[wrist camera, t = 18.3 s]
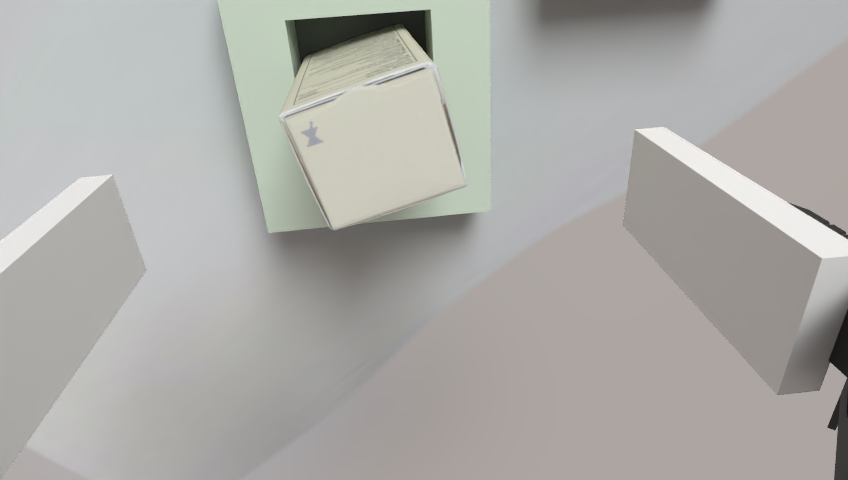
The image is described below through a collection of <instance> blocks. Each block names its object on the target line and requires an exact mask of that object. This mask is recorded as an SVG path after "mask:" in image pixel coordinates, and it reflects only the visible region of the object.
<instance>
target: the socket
mask: <svg viewBox="0 0 848 480" xmlns="http://www.w3.org/2000/svg"><path fill="white" fill-rule="evenodd" d="M217 2H218V7H219V11H220V16H221V20H222V25H223V29H224V34H225V39H226V43H227V48H228V52H229V57H230V61H231V66H232V70H233V75H234V79H235V84H236V89H237V93H238V98H239V102H240V107H241V111H242V116H243V120H244V125H245V130H246V134H247V139H248V143H249V148H250V152H251V157H252V161H253V166H254V170H255V175H256V180H257V184H258V189H259V193H260V198H261V202H262V207H263V211H264V216H265V220H266V225H267V230H268V233H274V232H284V231H294V230H304V229H314V228H324V227H328V225H327V223H326V220H325V218H324V216H323V214H322V212H321V211H320V209H319V207H318V205H317V203H316V200H315V198H314V196H313V194H312V192H311V190H310V188H309V186H308V184H307V181H306V179H305V177H304V175H303V173H302V171H301V168H300V166H299V164H298V162H297V160H296V157H295V155H294V153H293V150H292V148H291V146H290V143H289V141H288V139H287V136H286V134H285V132H284V130H283V127H282V125H281V123H280V121H279V114H280V112H281V109H282V107H283V105H284V103H285V101H286V98H287V96H288V94H289V91H290V89H291V87H292V85H293V82H294V80H295V77H296V76H297V73H298V71H299V69H300V66H301V60H300V54H299V48H298V42H297V36H296V30H295V23H294V20H298V19H311V18H324V17H337V16H350V15H363V14H376V13H389V12H403V11H416V10H424V21H425V38H426V54H427V55H428V57H429V58H430V59H431V60H432V61H433V62H434V63H435V64H436V65H437V67H438V70H439V73H440V77H441V81H442V84H443V88H444V91H445V95H446V98H447V102H448V105H449V109H450V113H451V116H452V120H453V123H454V127H455V131H456V135H457V139H458V143H459V147H460V151H461V156H462V160H463V164H464V168H465V172H466V176H467V181H468V182H467V186H466V187H464V188H461V189H458V190H455V191H452V192H450V193H447V194H444V195H442V196H439V197H436V198H433V199H430V200H427V201H424V202H422V203H419V204H416V205H413V206H410V207H407V208H404V209H401V210H399V211H396V212H393V213H390V214H386V215H383V216H380V217H377V218H374V219H371V220H368V221H365V222H361V223H358V224H364V223H374V222H384V221H394V220H404V219H414V218H425V217H435V216H445V215H455V214H465V213H475V212H485V211H491V71H490V0H217Z"/></svg>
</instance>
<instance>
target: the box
mask: <svg viewBox="0 0 848 480" xmlns="http://www.w3.org/2000/svg"><path fill="white" fill-rule="evenodd" d="M279 121H280V123H281V125H282V127H283V130H284V132H285V134H286V136H287V139H288V141H289V143H290V146H291V148H292V150H293V153H294V155H295V157H296V160H297V162H298V164H299V166H300V168H301V171H302V173H303V175H304V177H305V179H306V181H307V184H308V186H309V188H310V190H311V192H312V194H313V196H314V198H315V200H316V203H317V205H318V207H319V209H320V211H321V212H322V214H323V216H324V218H325V220H326V223H327V225H328V227H329V228H330V229H331V230H338V229H342V228H345V227H348V226H352V225H355V224H358V223H361V222H365V221H368V220H371V219H374V218H377V217H380V216H383V215H386V214H390V213H393V212H396V211H399V210H401V209H404V208H407V207H410V206H413V205H416V204H419V203H422V202H424V201H427V200H430V199H433V198H436V197H439V196H442V195H444V194H447V193H450V192H452V191H455V190H458V189H461V188H464V187H466V186H467V182H468V181H467V176H466V172H465V168H464V164H463V160H462V156H461V151H460V147H459V143H458V139H457V135H456V131H455V127H454V123H453V120H452V116H451V113H450V109H449V105H448V102H447V98H446V95H445V91H444V88H443V84H442V81H441V77H440V73H439V70H438V67H437V65H436V64H435V63H434V62H433V61H432V60H431V59H430V58H429V57H428V55H427V54H426V53H425V52H424V51H423V49H422V48H421V47H420V46H419V45H418V43H417V42H416V41H415V40H414V39H413V38H412V36H411V35H410V34H409V32H408V31H407V30H406V28H405V27H404V26H403V25H402V24H395V25H392V26H389V27H385V28H382V29H379V30H376V31H373V32H370V33H367V34H364V35H361V36H358V37H355V38H353V39H350V40H347V41H344V42H342V43H339V44H336V45H333V46H331V47H328V48H325V49H323V50H320V51H318V52H315V53H312V54H310V55H307V56H305V58H304V60H303V62H302V64H301V66H300V69H299V71H298V73H297V76H296V77H295V80H294V82H293V85H292V87H291V89H290V91H289V94H288V96H287V98H286V101H285V103H284V105H283V107H282V109H281V112H280V114H279Z"/></svg>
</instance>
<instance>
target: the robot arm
mask: <svg viewBox="0 0 848 480" xmlns="http://www.w3.org/2000/svg"><path fill="white" fill-rule="evenodd" d="M623 226H624V227H625V228H626V229H627V230H628V231H629V233H630V234H631V235H632V236H633V237H634V238H635V239H636V240H637V241H638V242H639V244H640V245H641V246H642V247H643V248H644V249H645V250H646V251H647V252H648V253H649V255H650V256H651V257H652V258H653V259H654V260H655V261H656V262H657V263H658V264H659V266H660V267H661V268H662V269H663V270H664V271H665V272H666V273H667V274H668V275H669V277H670V278H671V279H672V280H673V281H674V282H675V283H676V284H677V285H678V286H679V288H680V289H681V290H682V291H683V292H684V293H685V294H686V295H687V296H688V297H689V299H690V300H691V301H692V302H693V303H694V304H695V305H696V306H697V307H698V308H699V310H700V311H701V312H702V313H703V314H704V315H705V316H706V317H707V318H708V319H709V321H710V322H711V323H712V324H713V325H714V326H715V327H716V328H717V329H718V330H719V331H720V333H721V334H722V335H723V336H724V337H725V338H726V339H727V340H728V341H729V343H730V344H731V345H732V346H733V347H734V348H735V349H736V350H737V351H738V352H739V353H740V355H741V356H742V357H743V358H744V359H745V360H746V361H747V362H748V364H750V366H751V367H752V368H753V369H754V370H755V371H756V372H757V373H758V374H759V375H760V377H761V378H762V379H763V380H764V381H765V382H766V383H767V384H768V385H769V387H770V388H771V389H772V390H773V391H774V392H775V393H776V394H777V395H783V394H792V393H801V392H810V391H819V390H820V388H821V385H822V383H823V380H824V377H825V374H826V372H827V369H828V366H829V364H830V362H831V363H832V364H833V365H834V366H835V367H836V368H838V369H839V370H840V371H841V372H842V373H843V374H844V375H845V376H846V377H847V380H846V383H845V385H844V388H843V390H842V393H841V395H840V397H839V400H838V402H837V405H836V407H835V410H834V412H833V415H832V417H831V420H830V422H829V425H828V428H830V429H833V430H836V428H837V426H838V435H837V450H836V464H835V477H834V480H848V235H846V232H845V231H843V230H842V229H840V228H838V227H837V226H835V225H830V224H829V222H828V221H827V220H825V219H823V218H822V217H820V216H818V215H817V214H815V213H813V212H812V211H810V210H808V209H805V208H801V207H799V206H796V205H793V204H791V203H788V202H786V201H784V200H782V199H781V198H779V197H777V196H776V195H774V194H773V193H771V192H769V191H768V190H766V189H764V188H763V187H761V186H759V185H758V184H756V183H755V182H753V181H751V180H750V179H748V178H746V177H745V176H743V175H741V174H739V173H738V172H737V171H735V170H733V169H732V168H730V167H728V166H727V165H725V164H724V163H722V162H720V161H719V160H717V159H715V158H713V157H712V156H710V155H709V154H707V153H706V152H704V151H702V150H701V149H699V148H697V147H696V146H694V145H693V144H691V143H689V142H688V141H686V140H684V139H683V138H681V137H679V136H678V135H676V134H675V133H673V132H671V131H670V130H668V129H666V128H665V127H659V128H647V129H635V133H634V141H633V149H632V157H631V165H630V173H629V181H628V189H627V197H626V205H625V213H624V221H623ZM145 272H146V268H145V265H144V262H143V259H142V257H141V254H140V251H139V248H138V245H137V242H136V240H135V237H134V234H133V231H132V228H131V225H130V223H129V220H128V217H127V214H126V211H125V208H124V206H123V203H122V200H121V197H120V194H119V191H118V189H117V186H116V183H115V180H114V177H113V175H104V176H93V177H81V178H79V179H78V180H77V181H76V182H74V183H73V184H72V185H71V186H69V187H68V188H67V189H66V190H64V191H63V192H62V193H61V194H59V195H58V196H57V197H56V198H54V199H53V200H52V201H50V202H49V203H48V204H47V205H45V206H44V207H43V208H42V209H40V210H39V211H38V212H37V213H35V214H34V215H33V216H32V217H30V218H29V219H28V220H27V221H25V222H24V223H23V224H21V225H20V226H19V227H18V228H16V229H15V230H14V231H13V232H11V233H10V234H9V235H8V236H6V237H5V238H4V239H3V240H1V241H0V480H1V479H2V478H3V476H4V475H5V474H6V472H7V471H8V469H9V468H10V466H11V465H12V463H13V462H14V460H15V459H16V458H17V456H18V455H19V453H20V452H21V450H22V449H23V448H24V446H25V445H26V443H27V442H28V440H29V439H30V438H31V436H32V435H33V433H34V432H35V430H36V429H37V427H38V426H39V425H40V423H41V422H42V420H43V419H44V417H45V416H46V414H47V413H48V412H49V410H50V409H51V407H52V406H53V404H54V403H55V402H56V400H57V399H58V397H59V396H60V394H61V393H62V391H63V390H64V389H65V387H66V386H67V384H68V383H69V381H70V380H71V378H72V377H73V376H74V374H75V373H76V371H77V370H78V368H79V367H80V365H81V364H82V363H83V361H84V360H85V358H86V357H87V355H88V354H89V353H90V351H91V350H92V348H93V347H94V345H95V344H96V342H97V341H98V340H99V338H100V337H101V335H102V334H103V332H104V331H105V329H106V328H107V327H108V325H109V324H110V322H111V321H112V319H113V318H114V316H115V315H116V314H117V312H118V311H119V309H120V308H121V306H122V305H123V304H124V302H125V301H126V299H127V298H128V296H129V295H130V293H131V292H132V291H133V289H134V288H135V286H136V285H137V283H138V282H139V280H140V279H141V278H142V276H143V275H144V273H145Z"/></svg>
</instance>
